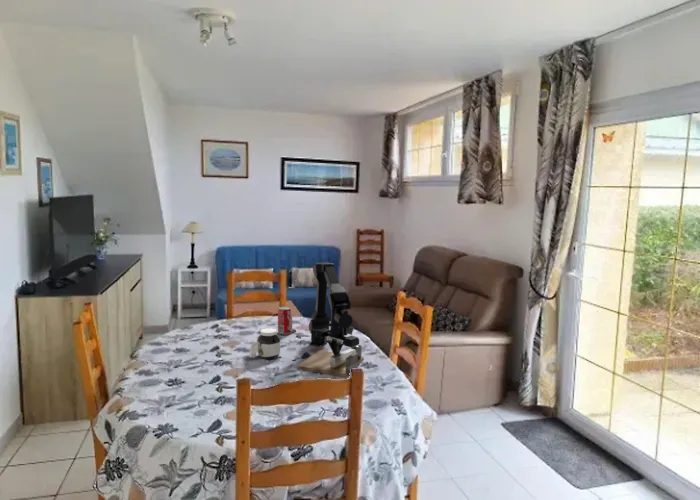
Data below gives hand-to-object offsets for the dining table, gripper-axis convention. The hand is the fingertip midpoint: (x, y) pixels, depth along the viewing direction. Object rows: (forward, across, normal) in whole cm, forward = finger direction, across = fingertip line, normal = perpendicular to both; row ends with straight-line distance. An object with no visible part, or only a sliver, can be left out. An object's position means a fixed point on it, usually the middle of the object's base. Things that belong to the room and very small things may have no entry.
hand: (336, 357), depth 205 cm
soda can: (+5, +48, -19) cm, 51 cm away
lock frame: (+4, +3, 0) cm, 5 cm away
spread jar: (+5, +30, +12) cm, 33 cm away
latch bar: (+2, -3, -3) cm, 5 cm away
